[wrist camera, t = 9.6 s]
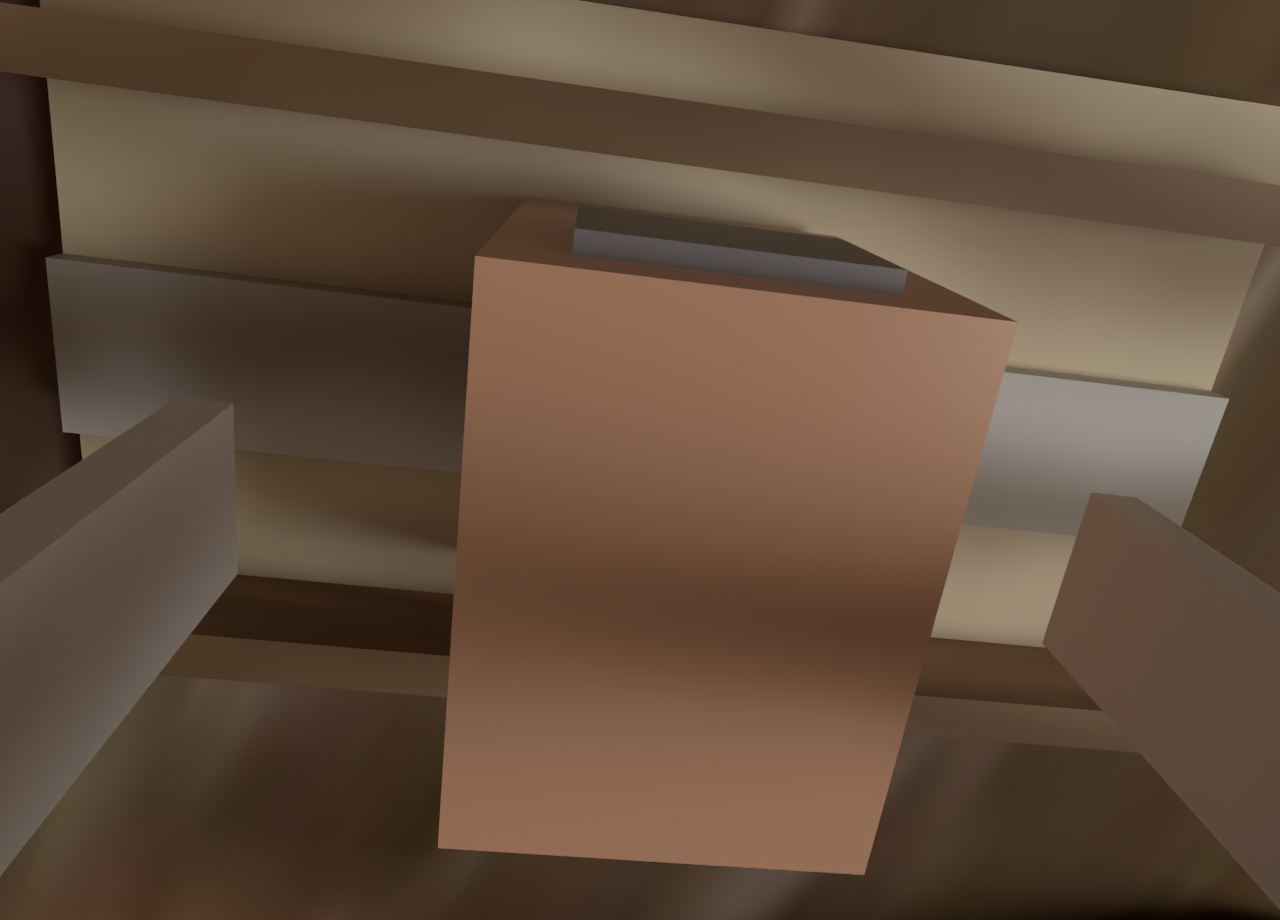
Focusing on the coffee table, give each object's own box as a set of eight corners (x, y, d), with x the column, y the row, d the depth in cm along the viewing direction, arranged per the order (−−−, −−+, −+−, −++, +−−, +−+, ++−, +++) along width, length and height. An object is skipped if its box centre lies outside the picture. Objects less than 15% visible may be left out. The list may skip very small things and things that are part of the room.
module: (764, 595, 20) (864, 874, 13) (497, 571, 20) (438, 848, 12) (839, 220, 17) (1025, 294, 10) (529, 179, 17) (476, 227, 9)
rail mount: (1060, 708, 24) (1139, 808, 20) (126, 630, 22) (37, 726, 18) (1270, 112, 19) (1423, 110, 15) (69, -69, 17) (-69, -119, 13)
